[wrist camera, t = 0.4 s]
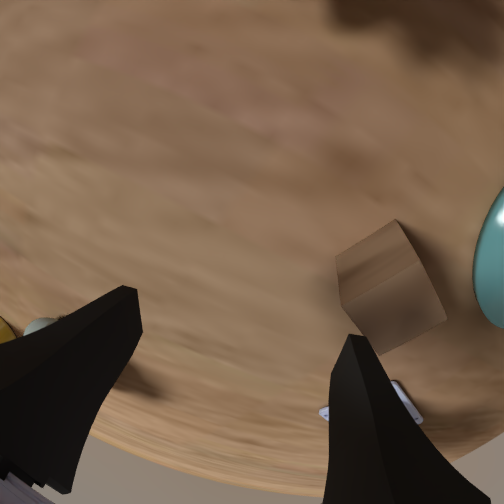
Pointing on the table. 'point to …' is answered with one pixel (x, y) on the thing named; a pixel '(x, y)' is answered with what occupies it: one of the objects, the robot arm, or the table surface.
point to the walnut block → (387, 289)
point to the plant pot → (5, 332)
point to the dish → (491, 264)
